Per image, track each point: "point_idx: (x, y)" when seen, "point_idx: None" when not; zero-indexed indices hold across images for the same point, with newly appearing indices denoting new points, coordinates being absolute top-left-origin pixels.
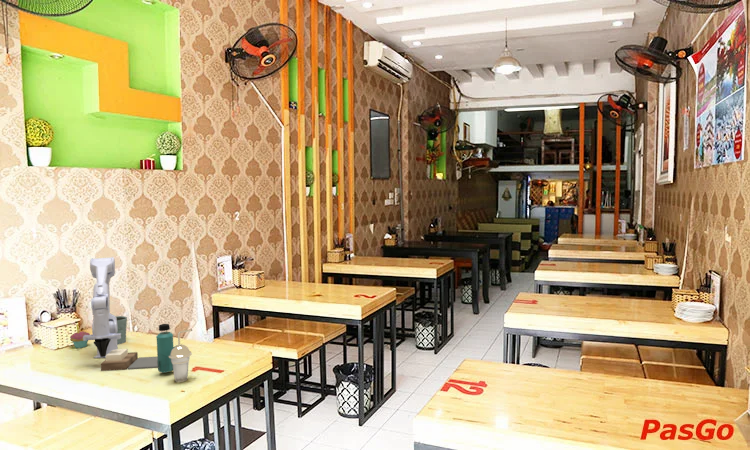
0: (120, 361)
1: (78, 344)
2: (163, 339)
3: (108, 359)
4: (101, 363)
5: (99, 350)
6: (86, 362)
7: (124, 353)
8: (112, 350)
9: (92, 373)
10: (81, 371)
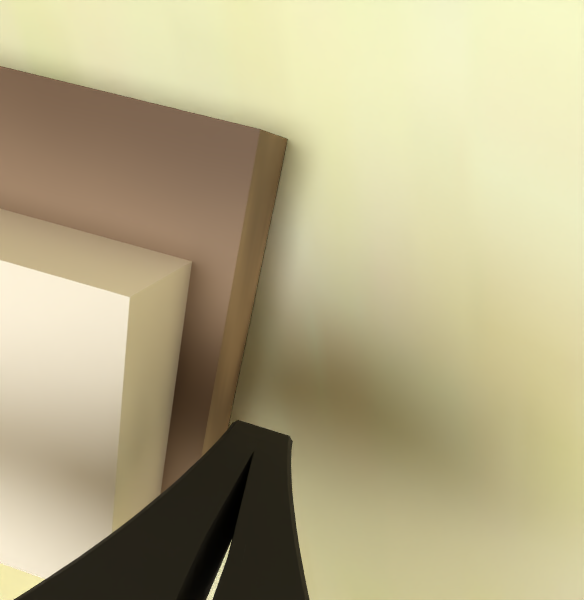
0: None
1: None
2: None
3: (132, 257)
4: (246, 145)
5: (271, 546)
6: (494, 579)
7: None
8: None
9: (402, 52)
10: (571, 246)
